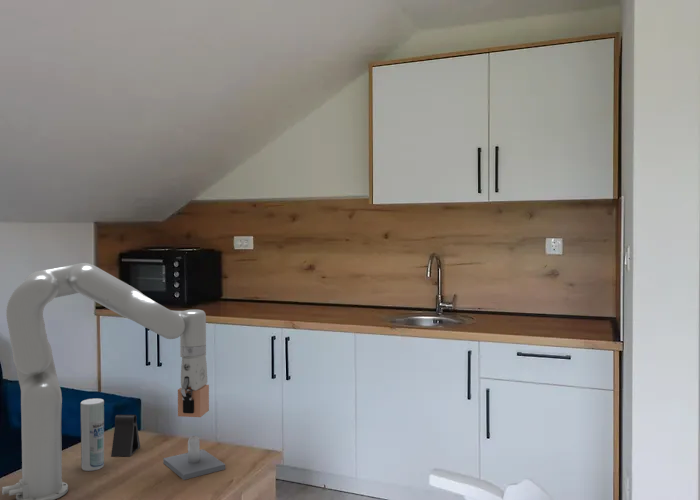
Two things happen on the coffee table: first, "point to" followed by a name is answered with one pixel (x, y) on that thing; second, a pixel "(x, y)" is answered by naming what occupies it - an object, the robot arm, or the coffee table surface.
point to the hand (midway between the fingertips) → (193, 408)
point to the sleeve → (195, 402)
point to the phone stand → (125, 436)
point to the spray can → (92, 434)
